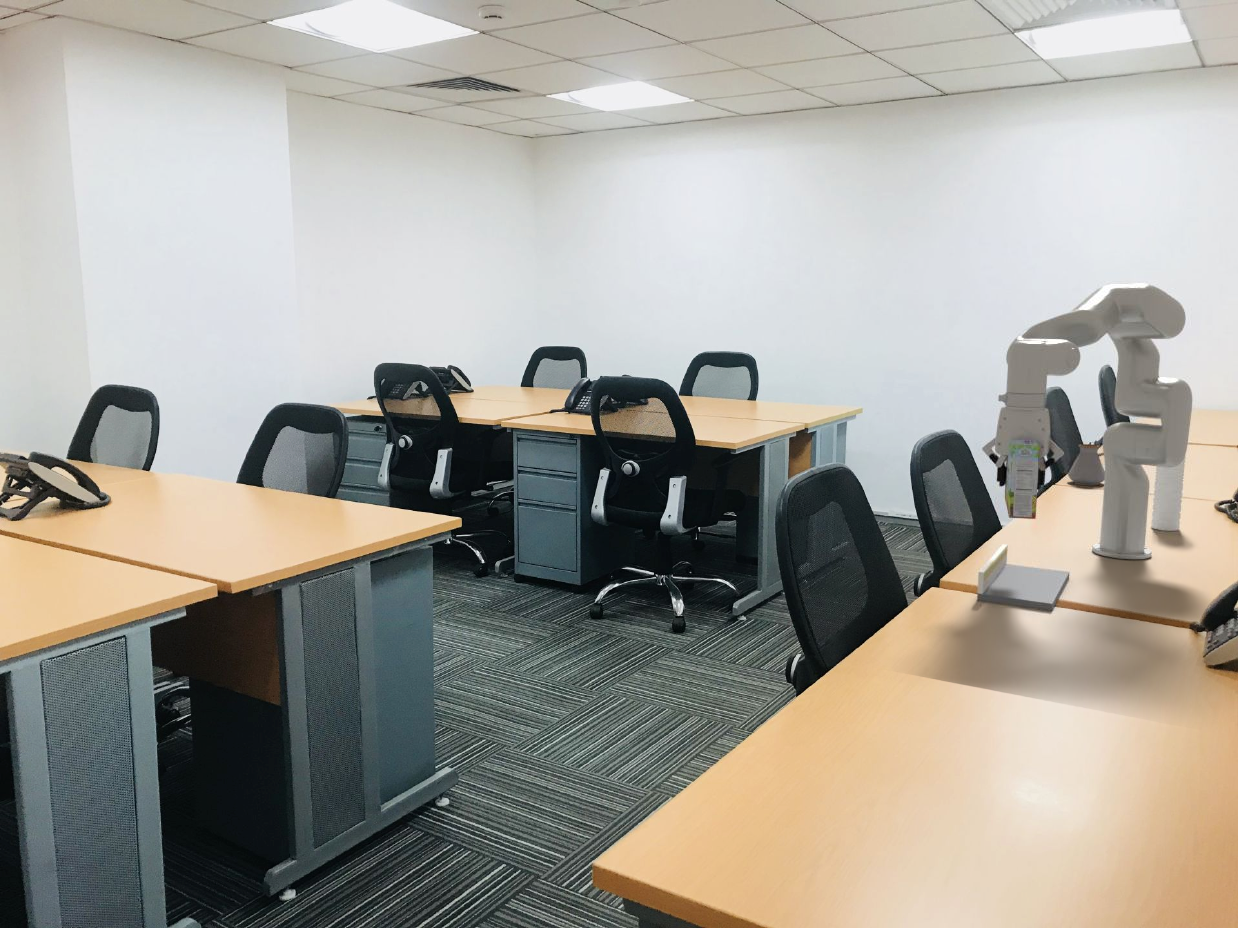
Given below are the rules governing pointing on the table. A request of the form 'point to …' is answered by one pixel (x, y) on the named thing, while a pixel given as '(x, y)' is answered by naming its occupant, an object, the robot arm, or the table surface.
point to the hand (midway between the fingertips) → (1020, 486)
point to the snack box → (1022, 478)
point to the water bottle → (1168, 497)
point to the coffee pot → (1087, 466)
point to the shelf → (1019, 583)
